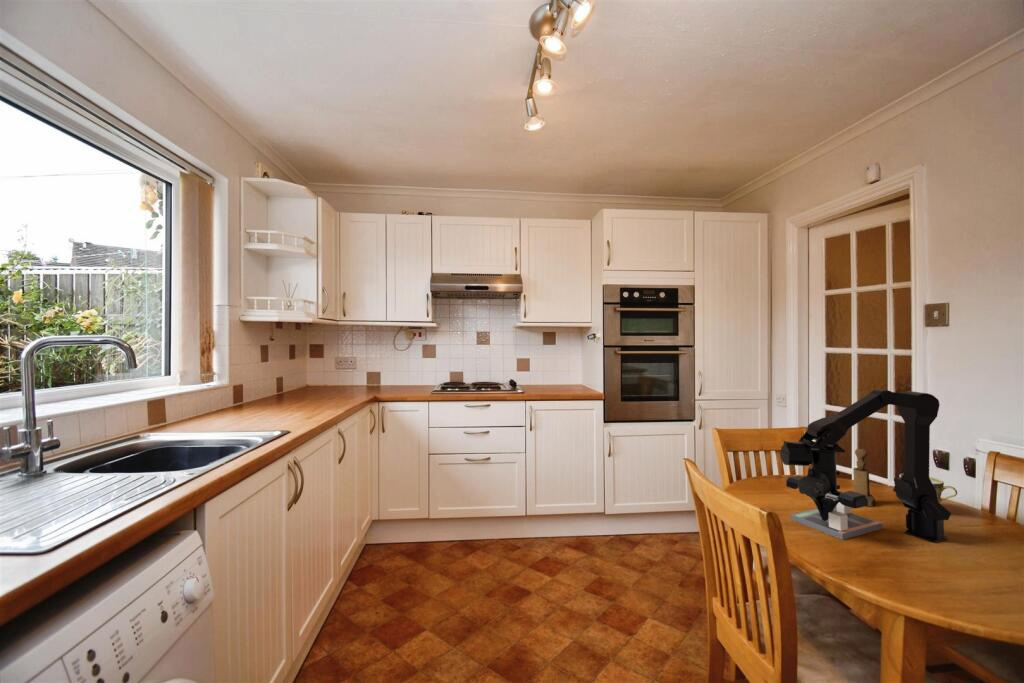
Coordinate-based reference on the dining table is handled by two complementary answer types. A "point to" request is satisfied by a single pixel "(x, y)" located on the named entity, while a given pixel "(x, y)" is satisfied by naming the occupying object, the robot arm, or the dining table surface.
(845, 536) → the breaker panel
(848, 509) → the white block
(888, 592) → the dining table surface
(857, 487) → the brown statuette
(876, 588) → the dining table surface
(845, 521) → the handle
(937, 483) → the ceramic cup
